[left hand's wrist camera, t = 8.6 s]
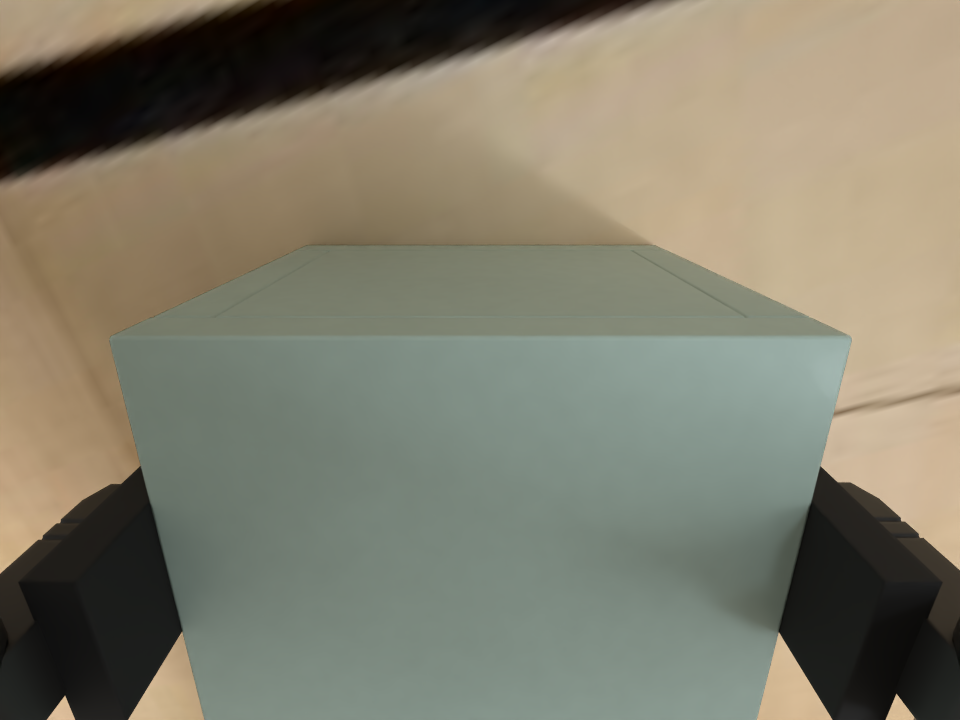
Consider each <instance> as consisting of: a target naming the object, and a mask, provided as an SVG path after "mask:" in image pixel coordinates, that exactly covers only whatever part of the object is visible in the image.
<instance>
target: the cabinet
mask: <svg viewBox="0 0 960 720" xmlns="http://www.w3.org/2000/svg"><path fill="white" fill-rule="evenodd" d="M109 341H110V345H111V349H112V353H113V357H114V361H115V365H116V369H117V373H118V377H119V381H120V385H121V389H122V393H123V397H124V401H125V405H126V409H127V413H128V417H129V421H130V425H131V429H132V433H133V437H134V441H135V445H136V449H137V453H138V457H139V461H140V465H141V469H142V473H143V477H144V481H145V485H146V489H147V493H148V497H149V501H150V505H151V509H152V513H153V516H154V520H155V524H156V528H157V532H158V536H159V540H160V544H161V548H162V552H163V556H164V560H165V564H166V568H167V572H168V576H169V580H170V584H171V588H172V592H173V596H174V600H175V604H176V608H177V612H178V616H179V620H180V624H181V628H182V632H183V636H184V640H185V644H186V648H187V652H188V656H189V660H190V664H191V668H192V672H193V676H194V680H195V684H196V688H197V692H198V696H199V700H200V704H201V708H202V712H203V716H204V720H757V717H758V713H759V709H760V705H761V701H762V697H763V693H764V689H765V685H766V681H767V677H768V673H769V669H770V665H771V661H772V657H773V653H774V649H775V645H776V641H777V637H778V633H779V629H780V625H781V621H782V617H783V613H784V609H785V605H786V601H787V597H788V593H789V589H790V585H791V581H792V577H793V573H794V569H795V565H796V561H797V557H798V553H799V549H800V545H801V541H802V537H803V533H804V529H805V525H806V521H807V517H808V513H809V509H810V505H811V501H812V497H813V493H814V489H815V485H816V481H817V477H818V473H819V469H820V465H821V461H822V457H823V453H824V449H825V445H826V441H827V437H828V433H829V429H830V425H831V421H832V417H833V413H834V409H835V405H836V401H837V397H838V393H839V389H840V385H841V381H842V377H843V373H844V369H845V365H846V361H847V357H848V353H849V349H850V345H851V341H852V340H851V337H850V336H849V335H847V334H845V333H843V332H840V331H838V330H836V329H834V328H832V327H830V326H828V325H825V324H823V323H821V322H819V321H817V320H815V319H812V318H809V317H808V316H806V315H804V314H802V313H800V312H798V311H796V310H794V309H791V308H789V307H787V306H785V305H783V304H781V303H778V302H776V301H774V300H772V299H770V298H768V297H766V296H763V295H761V294H759V293H757V292H755V291H753V290H751V289H748V288H746V287H744V286H742V285H740V284H738V283H736V282H733V281H731V280H729V279H727V278H725V277H723V276H720V275H718V274H716V273H714V272H712V271H710V270H708V269H705V268H703V267H701V266H699V265H697V264H695V263H693V262H690V261H688V260H686V259H684V258H682V257H680V256H678V255H675V254H673V253H671V252H669V251H667V250H664V249H662V248H660V247H657V246H655V245H306V246H304V247H302V248H300V249H298V250H295V251H293V252H291V253H289V254H287V255H285V256H283V257H281V258H278V259H276V260H274V261H272V262H270V263H268V264H266V265H263V266H261V267H259V268H257V269H255V270H253V271H251V272H248V273H246V274H244V275H242V276H240V277H238V278H236V279H234V280H231V281H229V282H227V283H225V284H223V285H221V286H219V287H216V288H214V289H212V290H210V291H208V292H206V293H204V294H201V295H199V296H197V297H195V298H193V299H191V300H189V301H186V302H184V303H182V304H180V305H178V306H176V307H174V308H171V309H169V310H167V311H165V312H163V313H161V314H159V315H156V316H154V318H149V319H147V320H144V321H142V322H140V323H138V324H136V325H134V326H131V327H129V328H127V329H125V330H123V331H121V332H119V333H116V334H114V335H112V336H111V337H110V340H109Z"/></svg>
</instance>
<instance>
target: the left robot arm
mask: <svg viewBox="0 0 960 720" xmlns="http://www.w3.org/2000/svg"><path fill="white" fill-rule="evenodd" d="M181 632H182V628H181V624H180V620H179V616H178V612H177V608H176V604H175V600H174V596H173V592H172V588H171V584H170V580H169V576H168V572H167V568H166V564H165V560H164V556H163V552H162V548H161V544H160V540H159V536H158V532H157V528H156V524H155V520H154V516H153V513H152V509H151V505H150V501H149V497H148V493H147V489H146V485H145V481H144V477H143V473H142V469H141V466H140V467H139V468H138V469H137V470H136V471H135V472H134V473H133V474H132V475H130V476H129V477H128V478H127V479H126V480H125V481H124V482H123V483H122V484H110V485H109V486H107V487H105V488H103V489H102V490H100V491H98V492H96V493H95V494H93V495H91V496H89V497H88V498H86V499H84V500H82V501H81V502H80V503H79V504H78V505H77V506H76V507H74V508H73V509H72V510H71V511H70V512H69V513H68V514H67V515H65V516H64V517H63V518H62V519H61V523H57V524H55V525H54V526H53V527H52V528H51V529H50V530H49V531H48V532H46V533H45V534H44V535H43V539H42V540H38V541H36V542H35V543H34V544H33V545H32V546H31V547H30V548H29V549H28V550H26V551H25V552H24V553H23V554H22V555H21V556H20V557H19V558H17V559H16V560H15V561H14V562H13V563H12V564H11V565H10V566H9V567H7V568H6V569H5V570H4V571H3V572H2V573H1V574H0V720H47V718H48V717H49V716H50V715H51V713H52V712H53V711H54V709H55V708H56V707H57V705H58V704H59V703H60V701H61V700H62V699H63V697H64V696H66V698H67V701H68V703H69V706H70V708H71V710H72V713H73V715H74V718H75V720H128V719H129V717H130V716H131V714H132V712H133V711H134V709H135V707H136V706H137V704H138V702H139V701H140V699H141V698H142V696H143V694H144V693H145V691H146V689H147V688H148V686H149V684H150V683H151V681H152V680H153V678H154V676H155V675H156V673H157V671H158V670H159V668H160V666H161V665H162V663H163V662H164V660H165V658H166V657H167V655H168V653H169V652H170V650H171V649H172V647H173V645H174V644H175V642H176V640H177V639H178V637H179V635H180V634H181ZM779 633H780V634H781V636H782V638H783V639H784V641H785V643H786V644H787V646H788V648H789V649H790V651H791V652H792V654H793V656H794V657H795V659H796V661H797V662H798V664H799V665H800V667H801V669H802V670H803V672H804V674H805V675H806V677H807V679H808V680H809V682H810V683H811V685H812V687H813V688H814V690H815V692H816V693H817V695H818V697H819V698H820V700H821V701H822V703H823V705H824V706H825V708H826V710H827V711H828V713H829V715H830V716H831V718H832V719H833V720H886V717H887V715H888V712H889V710H890V708H891V705H892V703H893V700H894V698H895V696H896V693H897V695H898V696H899V697H900V699H901V700H902V701H903V703H904V704H905V705H906V707H907V708H908V709H909V711H910V712H911V713H912V715H913V716H914V717H915V718H914V720H960V570H959V569H958V568H956V567H955V566H954V565H953V564H952V563H951V562H950V561H949V560H947V559H946V558H945V557H944V556H943V555H942V554H941V553H940V552H938V551H937V550H936V549H935V548H934V547H933V546H932V545H931V544H929V543H928V542H927V541H926V540H925V539H924V538H919V534H918V533H917V532H916V531H915V530H914V529H913V528H911V527H910V526H909V525H908V524H907V523H906V522H901V518H900V517H899V516H898V515H897V514H896V513H895V512H893V511H892V510H891V509H890V508H889V507H888V506H887V505H886V504H884V503H883V502H882V501H881V500H880V499H879V498H877V497H875V496H873V495H872V494H870V493H868V492H866V491H864V490H863V489H861V488H859V487H857V486H856V485H854V484H852V483H840V482H837V481H835V480H834V479H833V478H832V477H831V476H830V475H829V474H828V473H827V472H826V471H825V470H824V469H823V468H822V467H821V466H820V469H819V473H818V477H817V481H816V485H815V489H814V493H813V497H812V501H811V505H810V509H809V513H808V517H807V521H806V525H805V529H804V533H803V537H802V541H801V545H800V549H799V553H798V557H797V561H796V565H795V569H794V573H793V577H792V581H791V585H790V589H789V593H788V597H787V601H786V605H785V609H784V613H783V617H782V621H781V625H780V629H779Z"/></svg>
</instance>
